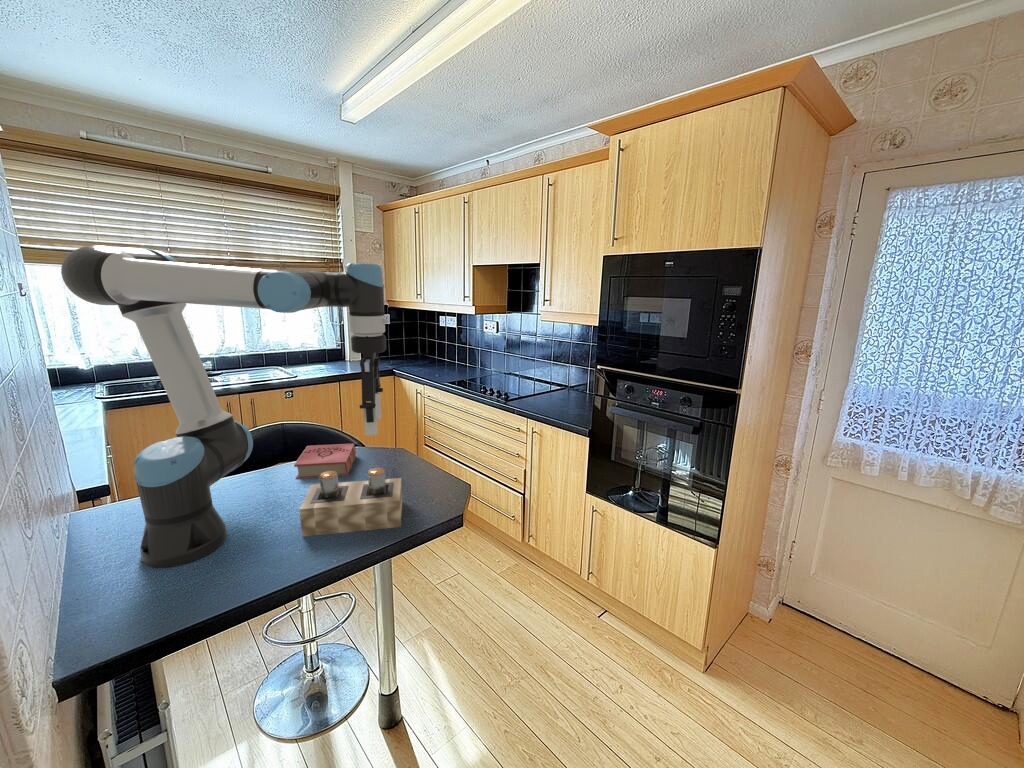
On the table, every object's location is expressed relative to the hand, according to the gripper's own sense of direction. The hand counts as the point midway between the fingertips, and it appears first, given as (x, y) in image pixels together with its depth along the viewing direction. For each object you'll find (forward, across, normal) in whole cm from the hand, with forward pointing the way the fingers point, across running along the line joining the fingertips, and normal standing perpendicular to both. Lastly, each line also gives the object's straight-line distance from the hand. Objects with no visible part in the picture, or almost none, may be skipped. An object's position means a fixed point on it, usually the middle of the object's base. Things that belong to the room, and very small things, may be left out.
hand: (373, 426), depth 103 cm
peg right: (+18, 0, 0) cm, 18 cm away
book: (+25, +32, +18) cm, 44 cm away
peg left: (+18, 0, +11) cm, 21 cm away
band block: (+24, 0, +5) cm, 24 cm away
